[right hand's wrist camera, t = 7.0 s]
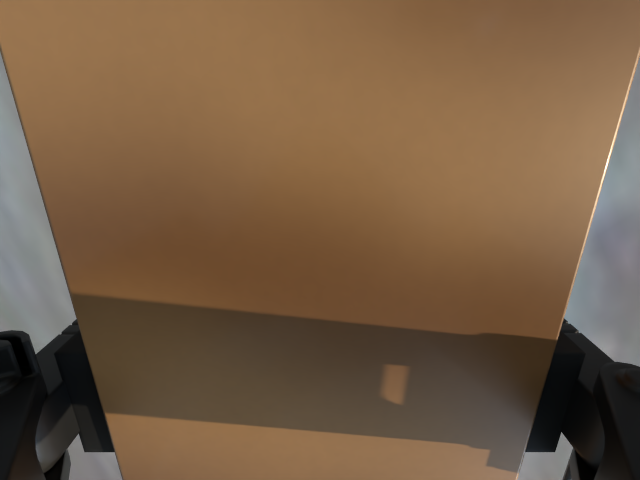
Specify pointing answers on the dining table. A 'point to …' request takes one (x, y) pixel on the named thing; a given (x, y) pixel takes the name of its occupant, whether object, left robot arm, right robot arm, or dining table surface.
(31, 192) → the dining table surface
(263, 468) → the wide beam
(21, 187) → the dining table surface
